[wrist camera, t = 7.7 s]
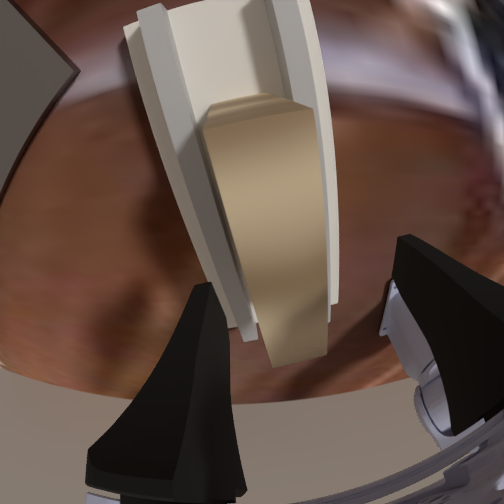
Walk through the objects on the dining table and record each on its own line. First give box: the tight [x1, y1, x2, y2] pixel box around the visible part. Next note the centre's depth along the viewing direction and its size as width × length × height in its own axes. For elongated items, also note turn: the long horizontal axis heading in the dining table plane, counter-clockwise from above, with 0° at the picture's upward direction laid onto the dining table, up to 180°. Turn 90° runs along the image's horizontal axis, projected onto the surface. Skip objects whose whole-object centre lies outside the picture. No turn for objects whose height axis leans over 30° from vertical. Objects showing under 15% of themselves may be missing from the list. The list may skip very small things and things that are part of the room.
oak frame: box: [203, 92, 328, 368], centre depth 13 cm, size 12×3×8 cm, turn 12°
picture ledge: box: [123, 0, 339, 342], centre depth 16 cm, size 24×10×3 cm, turn 11°
